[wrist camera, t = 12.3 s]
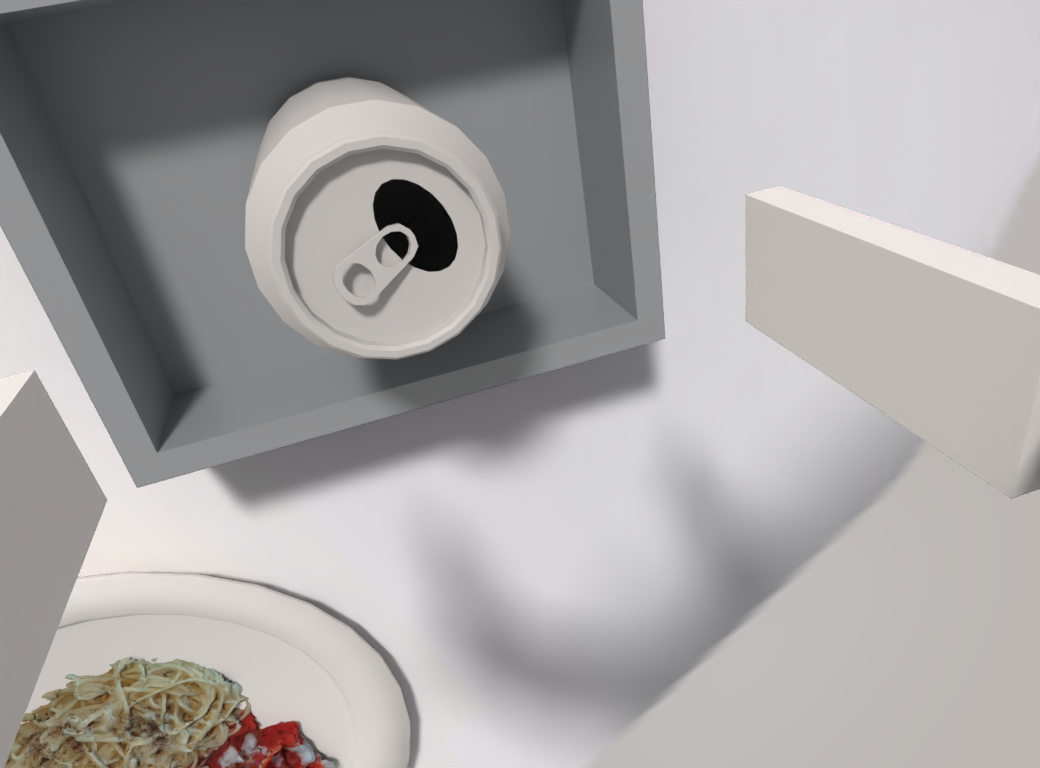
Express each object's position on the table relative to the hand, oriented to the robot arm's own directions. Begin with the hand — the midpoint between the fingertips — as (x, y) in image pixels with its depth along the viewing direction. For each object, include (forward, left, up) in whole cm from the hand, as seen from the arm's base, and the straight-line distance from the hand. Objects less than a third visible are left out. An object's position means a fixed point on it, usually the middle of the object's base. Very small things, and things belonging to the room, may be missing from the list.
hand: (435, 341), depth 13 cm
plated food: (+20, +30, -20) cm, 41 cm away
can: (0, 0, -19) cm, 19 cm away
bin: (0, 0, -20) cm, 20 cm away
